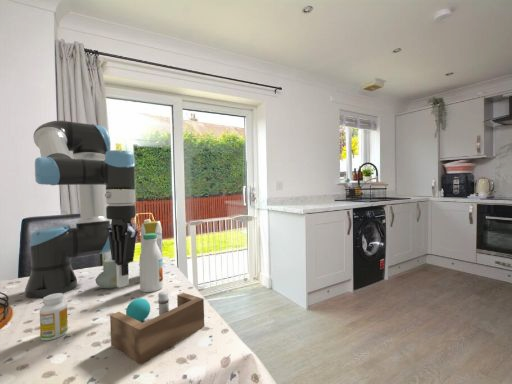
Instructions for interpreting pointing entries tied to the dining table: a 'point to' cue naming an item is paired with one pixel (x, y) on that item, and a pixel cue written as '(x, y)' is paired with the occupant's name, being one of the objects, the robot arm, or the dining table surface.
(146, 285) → the milk bottle
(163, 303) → the grey pin
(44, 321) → the supplement bottle
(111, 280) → the air freshener
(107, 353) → the dining table surface
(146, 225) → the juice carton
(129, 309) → the ball
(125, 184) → the robot arm
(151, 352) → the walnut backstop
